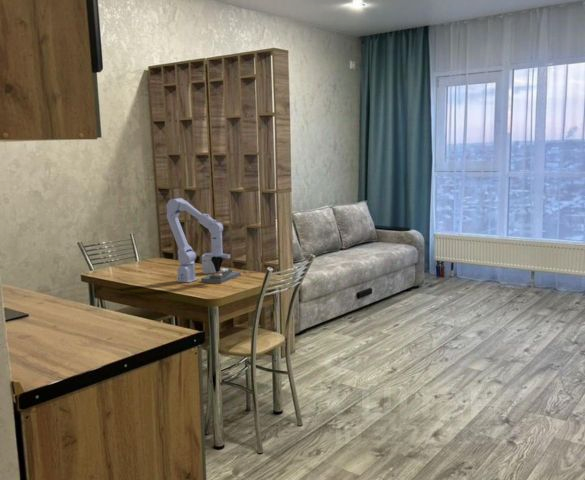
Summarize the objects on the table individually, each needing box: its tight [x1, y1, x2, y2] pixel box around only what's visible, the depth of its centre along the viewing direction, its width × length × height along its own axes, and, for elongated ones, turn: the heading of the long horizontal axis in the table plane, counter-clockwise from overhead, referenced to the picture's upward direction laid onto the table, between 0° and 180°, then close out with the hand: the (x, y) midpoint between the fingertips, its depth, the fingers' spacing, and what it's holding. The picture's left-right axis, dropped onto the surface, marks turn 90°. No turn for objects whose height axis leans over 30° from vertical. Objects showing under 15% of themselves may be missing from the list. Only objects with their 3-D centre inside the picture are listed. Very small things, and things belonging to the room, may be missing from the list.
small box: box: [201, 253, 216, 275], centre depth 324 cm, size 8×6×10 cm
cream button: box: [217, 267, 225, 273], centre depth 306 cm, size 4×4×2 cm
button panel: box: [200, 268, 242, 284], centre depth 307 cm, size 21×12×3 cm, turn 156°
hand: (217, 271), depth 300 cm, fingers closed
